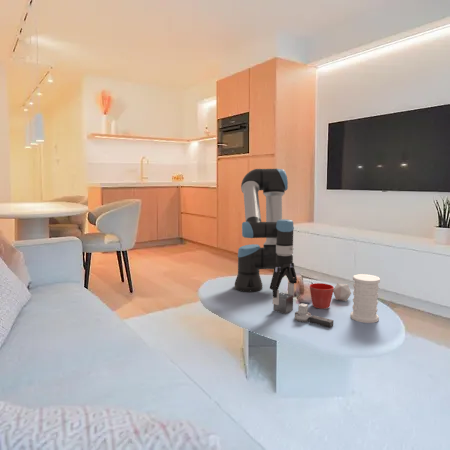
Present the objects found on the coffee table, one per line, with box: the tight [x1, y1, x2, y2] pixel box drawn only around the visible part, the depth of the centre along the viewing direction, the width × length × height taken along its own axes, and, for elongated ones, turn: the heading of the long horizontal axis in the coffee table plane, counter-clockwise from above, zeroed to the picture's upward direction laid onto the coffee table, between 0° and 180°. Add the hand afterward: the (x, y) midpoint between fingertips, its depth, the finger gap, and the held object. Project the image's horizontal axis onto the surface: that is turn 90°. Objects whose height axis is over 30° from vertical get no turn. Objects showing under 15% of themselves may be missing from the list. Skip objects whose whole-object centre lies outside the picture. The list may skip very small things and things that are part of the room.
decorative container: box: [349, 273, 381, 324], centre depth 166 cm, size 12×12×18 cm
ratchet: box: [294, 302, 334, 329], centre depth 162 cm, size 16×7×6 cm, turn 51°
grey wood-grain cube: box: [272, 292, 294, 315], centre depth 176 cm, size 6×6×7 cm
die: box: [333, 282, 352, 302], centre depth 190 cm, size 8×9×10 cm
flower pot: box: [309, 282, 335, 310], centre depth 181 cm, size 11×11×10 cm
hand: (283, 300), depth 175 cm, fingers open, 13 cm apart
